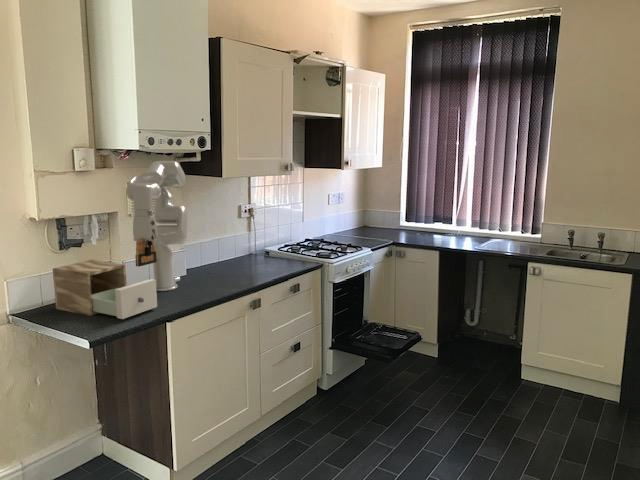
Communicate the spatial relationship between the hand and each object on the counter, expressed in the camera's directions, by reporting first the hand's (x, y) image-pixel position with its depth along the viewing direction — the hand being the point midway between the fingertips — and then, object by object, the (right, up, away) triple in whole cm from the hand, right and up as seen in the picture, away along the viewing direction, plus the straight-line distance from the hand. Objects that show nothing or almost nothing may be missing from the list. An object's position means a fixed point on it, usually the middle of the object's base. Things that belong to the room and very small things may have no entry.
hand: (145, 255), depth 234 cm
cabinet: (-26, -23, +6) cm, 35 cm away
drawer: (-9, -23, -3) cm, 25 cm away
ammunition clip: (0, -4, +1) cm, 4 cm away
